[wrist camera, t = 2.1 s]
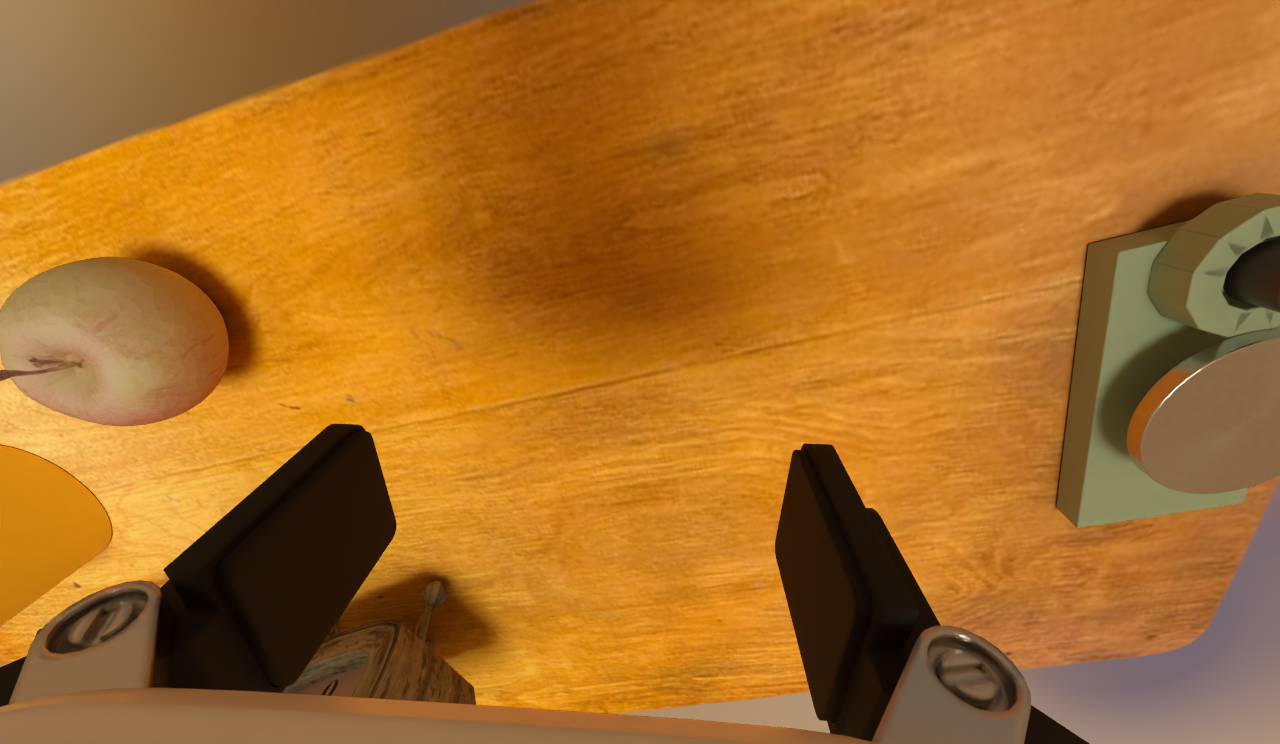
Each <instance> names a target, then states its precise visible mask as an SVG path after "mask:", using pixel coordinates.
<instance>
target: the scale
mask: <svg viewBox="0 0 1280 744" xmlns="http://www.w3.org/2000/svg"><path fill="white" fill-rule="evenodd" d="M1271 240H1280V195H1272V194H1261V193H1256V194H1252V195H1248V196H1244V197H1239V198H1235V199H1231V200H1227V201H1223V202H1219V203H1217V204H1214V205H1213V206H1211V207H1210V208H1208V209H1207V210H1205V211H1204V212H1203V213H1201V214H1200V215H1198V216H1197V217H1195V218H1194V219H1192V220H1188V221H1184V222H1179V223H1175V224H1171V225H1167V226H1163V227H1158V228H1154V229H1150V230H1146V231H1142V232H1137V233H1133V234H1129V235H1125V236H1121V237H1116V238H1112V239H1108V240H1104V241H1100V242H1095V243H1091V244H1089V245H1088V252H1087V260H1086V269H1085V277H1084V285H1083V293H1082V301H1081V309H1080V318H1079V326H1078V334H1077V342H1076V350H1075V358H1074V367H1073V375H1072V383H1071V391H1070V399H1069V407H1068V416H1067V424H1066V432H1065V440H1064V448H1063V456H1062V465H1061V473H1060V481H1059V489H1058V497H1057V505H1056V507H1057V509H1058V510H1059V511H1060V512H1061V513H1062V514H1063V515H1064V516H1065V517H1067V518H1068V519H1069V520H1070V521H1071V522H1072V523H1073V524H1074V525H1075V526H1076V527H1077V528H1082V527H1089V526H1095V525H1102V524H1108V523H1115V522H1122V521H1128V520H1135V519H1142V518H1148V517H1155V516H1162V515H1168V514H1175V513H1182V512H1188V511H1195V510H1201V509H1208V508H1215V507H1221V506H1228V505H1235V504H1241V503H1243V502H1244V499H1245V496H1246V493H1247V491H1248V488H1249V487H1246V488H1243V489H1239V490H1234V491H1229V492H1224V493H1215V494H1191V493H1184V492H1179V491H1175V490H1172V489H1169V488H1166V487H1164V486H1162V485H1160V484H1158V483H1157V482H1156V481H1154V480H1153V479H1151V478H1150V477H1149V476H1147V475H1146V474H1145V473H1143V472H1142V471H1141V470H1139V469H1138V467H1137V466H1136V465H1135V464H1134V463H1133V461H1132V459H1131V457H1130V455H1129V452H1128V449H1127V430H1128V427H1129V423H1130V420H1131V418H1132V416H1133V413H1134V411H1135V410H1136V408H1137V406H1138V405H1139V403H1140V401H1141V400H1142V399H1143V397H1144V396H1145V395H1146V394H1147V392H1148V391H1149V390H1150V389H1151V388H1152V387H1153V386H1154V385H1155V384H1156V382H1157V381H1159V380H1160V379H1161V378H1162V377H1163V376H1164V375H1165V374H1166V373H1168V372H1169V371H1170V370H1171V369H1173V368H1174V367H1175V366H1177V365H1178V364H1179V363H1181V362H1182V361H1184V360H1186V359H1187V358H1189V357H1190V356H1192V355H1194V354H1196V353H1197V352H1199V351H1201V350H1203V349H1205V348H1207V347H1209V346H1211V345H1214V344H1216V343H1218V342H1221V341H1223V340H1226V339H1229V338H1232V337H1235V336H1238V335H1242V334H1246V333H1250V332H1256V331H1262V330H1273V329H1280V313H1279V312H1276V311H1273V310H1269V309H1266V308H1263V307H1259V306H1256V305H1253V304H1249V303H1246V302H1243V301H1239V300H1236V299H1233V298H1231V297H1229V296H1228V295H1227V294H1226V293H1225V291H1224V289H1223V285H1224V281H1225V277H1226V273H1227V271H1228V270H1229V269H1230V268H1231V266H1232V265H1233V264H1234V263H1235V262H1236V260H1237V259H1238V258H1239V257H1240V256H1241V254H1243V253H1244V252H1246V251H1247V250H1249V249H1251V248H1252V247H1254V246H1255V245H1257V244H1259V243H1262V242H1266V241H1271Z"/></svg>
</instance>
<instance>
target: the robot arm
mask: <svg viewBox="0 0 1280 744" xmlns="http://www.w3.org/2000/svg"><path fill="white" fill-rule="evenodd" d="M395 531H396V519H395V516H394V512H393V509H392V505H391V502H390V498H389V495H388V491H387V487H386V484H385V480H384V477H383V473H382V470H381V466H380V463H379V459H378V456H377V452H376V448H375V445H374V441H373V438H372V436H371V434H370V433H369V432H366V431H365V429H364V428H363V427H362V426H360V425H353V424H331V425H329V426H328V427H326V428H325V429H324V430H323V431H322V432H321V433H319V434H318V435H317V436H316V437H315V438H314V439H313V440H311V441H310V442H309V443H308V444H307V445H306V446H305V447H303V448H302V449H301V450H300V451H299V452H298V453H297V454H295V455H294V456H293V457H292V458H291V459H290V460H288V461H287V462H286V463H285V464H284V465H283V466H282V467H280V468H279V469H278V470H277V471H276V472H275V473H274V474H272V475H271V476H270V477H269V478H268V479H267V480H266V481H264V482H263V483H262V484H261V485H260V486H259V487H258V488H256V489H255V490H254V491H253V492H252V493H251V494H249V495H248V496H247V497H246V498H245V499H244V500H243V501H241V502H240V503H239V504H238V505H237V506H236V507H235V508H233V509H232V510H231V511H230V512H229V513H228V514H227V515H225V516H224V517H223V518H222V519H221V520H220V521H219V522H217V523H216V524H215V525H214V526H213V527H212V528H210V529H209V530H208V531H207V532H206V533H205V534H204V535H202V536H201V537H200V538H199V539H198V540H197V541H196V542H194V543H193V544H192V545H191V546H190V547H189V548H188V549H186V550H185V551H184V552H183V553H182V554H181V555H180V556H178V557H177V558H176V559H175V560H174V561H173V562H171V563H170V564H169V565H168V566H167V567H166V568H165V569H164V571H165V573H166V574H167V576H168V578H169V579H170V580H169V581H168V582H167V583H166V584H164V585H163V586H162V587H161V588H160V587H159V586H157V585H156V584H154V583H153V582H148V581H141V580H140V581H132V582H125V583H121V584H118V585H114V586H111V587H107V588H105V589H103V590H100V591H98V592H96V593H93V594H91V595H89V596H87V597H85V598H83V599H82V600H80V601H78V602H76V603H75V604H73V605H71V606H69V607H68V608H66V609H65V610H64V611H62V612H61V613H60V614H58V615H57V616H56V617H54V618H53V619H52V620H51V621H50V622H49V623H48V624H47V625H46V626H45V627H44V628H43V629H42V630H41V631H40V632H39V633H38V634H37V636H36V638H35V639H34V641H33V642H32V644H31V646H30V649H29V651H28V654H27V656H26V657H24V658H21V659H19V660H17V661H14V662H12V663H10V664H7V665H5V666H3V667H0V744H1089V743H1088V742H1086V741H1085V740H1083V739H1081V738H1080V737H1078V736H1077V735H1075V734H1074V733H1072V732H1071V731H1069V730H1068V729H1066V728H1065V727H1063V726H1062V725H1060V724H1059V723H1057V722H1056V721H1054V720H1053V719H1051V718H1050V717H1048V716H1047V715H1045V714H1044V713H1042V712H1041V711H1039V710H1038V709H1036V708H1035V707H1033V706H1032V705H1031V697H1030V691H1029V689H1028V686H1027V684H1026V681H1025V679H1024V677H1023V676H1022V674H1021V673H1020V671H1019V670H1018V669H1017V667H1016V666H1015V665H1014V663H1013V662H1012V661H1011V660H1010V659H1009V658H1008V657H1007V656H1006V655H1005V654H1004V653H1003V652H1002V651H1000V650H999V649H998V648H997V647H996V646H994V645H993V644H991V643H990V642H988V641H987V640H985V639H984V638H982V637H980V636H978V635H976V634H974V633H972V632H969V631H967V630H965V629H961V628H957V627H953V626H941V625H940V624H939V622H938V620H937V618H936V616H935V615H934V613H933V611H932V609H931V607H930V605H929V604H928V602H927V600H926V598H925V596H924V595H923V593H922V591H921V589H920V587H919V586H918V584H917V582H916V580H915V578H914V576H913V575H912V573H911V571H910V569H909V567H908V566H907V564H906V562H905V560H904V558H903V557H902V555H901V553H900V551H899V549H898V547H897V546H896V544H895V542H894V540H893V538H892V537H891V535H890V533H889V531H888V529H887V528H886V526H885V524H884V522H883V520H882V518H881V517H880V515H879V514H878V513H877V511H875V510H874V509H872V508H865V506H864V504H863V502H862V500H861V498H860V496H859V494H858V492H857V490H856V489H855V487H854V485H853V483H852V481H851V479H850V477H849V475H848V473H847V471H846V470H845V468H844V466H843V464H842V462H841V460H840V458H839V456H838V454H837V452H836V450H835V449H834V447H833V446H832V445H828V444H803V446H802V448H801V450H794V451H793V454H792V458H791V463H790V469H789V474H788V479H787V484H786V489H785V494H784V500H783V505H782V510H781V515H780V520H779V525H778V531H777V536H776V542H775V553H776V559H777V563H778V567H779V571H780V575H781V579H782V583H783V587H784V591H785V594H786V598H787V602H788V606H789V610H790V614H791V618H792V622H793V626H794V630H795V634H796V638H797V642H798V646H799V649H800V653H801V657H802V661H803V665H804V669H805V673H806V677H807V681H808V685H809V689H810V693H811V697H812V701H813V704H814V708H815V712H816V715H817V717H818V718H819V720H824V721H827V722H828V726H829V729H830V733H831V734H830V733H822V732H815V731H808V730H801V729H793V728H783V727H771V726H760V725H749V724H738V723H726V722H715V721H704V720H690V719H676V718H661V717H648V716H634V715H633V716H632V715H619V714H605V713H591V712H577V711H562V710H548V709H532V708H517V707H502V706H486V705H471V704H455V703H440V702H424V701H408V700H392V699H376V698H359V697H342V696H325V695H307V694H290V693H283V691H284V690H285V688H286V687H287V686H290V685H292V684H293V683H295V682H296V681H297V680H298V678H299V677H300V676H301V674H302V673H303V671H304V670H305V668H306V667H307V665H308V664H309V662H310V661H311V659H312V658H313V656H314V655H315V653H316V652H317V650H318V649H319V647H320V646H321V644H322V643H323V641H324V640H325V639H326V637H327V636H328V634H329V633H330V631H331V630H332V628H333V627H334V625H335V624H336V622H337V621H338V619H339V618H340V616H341V615H342V613H343V612H344V610H345V609H346V607H347V606H348V604H349V603H350V601H351V600H352V598H353V597H354V595H355V594H356V592H357V591H358V589H359V588H360V586H361V585H362V584H363V582H364V581H365V579H366V578H367V576H368V575H369V573H370V572H371V570H372V569H373V567H374V566H375V564H376V563H377V561H378V560H379V558H380V557H381V555H382V554H383V552H384V551H385V549H386V548H387V546H388V545H389V543H390V542H391V540H392V539H393V537H394V535H395Z"/></svg>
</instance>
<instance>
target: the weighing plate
mask: <svg viewBox="0 0 1280 744" xmlns="http://www.w3.org/2000/svg"><path fill="white" fill-rule="evenodd" d="M1127 449H1128V452H1129V455H1130V457H1131V459H1132V461H1133V463H1134V464H1135V465H1136V466H1137V467H1138V469H1139V470H1141V471H1142V472H1143V473H1145V474H1146V475H1147V476H1149V477H1150V478H1151V479H1153V480H1154V481H1156V482H1157V483H1158V484H1160V485H1162V486H1164V487H1166V488H1169V489H1172V490H1175V491H1179V492H1184V493H1191V494H1215V493H1224V492H1229V491H1234V490H1239V489H1243V488H1246V487H1250V486H1253V485H1256V484H1259V483H1262V482H1265V481H1267V480H1269V479H1272V478H1274V477H1276V476H1279V475H1280V329H1273V330H1262V331H1256V332H1250V333H1246V334H1242V335H1238V336H1235V337H1232V338H1229V339H1226V340H1223V341H1221V342H1218V343H1216V344H1214V345H1211V346H1209V347H1207V348H1205V349H1203V350H1201V351H1199V352H1197V353H1196V354H1194V355H1192V356H1190V357H1189V358H1187V359H1186V360H1184V361H1182V362H1181V363H1179V364H1178V365H1177V366H1175V367H1174V368H1173V369H1171V370H1170V371H1169V372H1168V373H1166V374H1165V375H1164V376H1163V377H1162V378H1161V379H1160V380H1159V381H1157V382H1156V384H1155V385H1154V386H1153V387H1152V388H1151V389H1150V390H1149V391H1148V392H1147V394H1146V395H1145V396H1144V397H1143V399H1142V400H1141V401H1140V403H1139V405H1138V406H1137V408H1136V410H1135V411H1134V413H1133V416H1132V418H1131V420H1130V423H1129V427H1128V430H1127Z"/></svg>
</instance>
